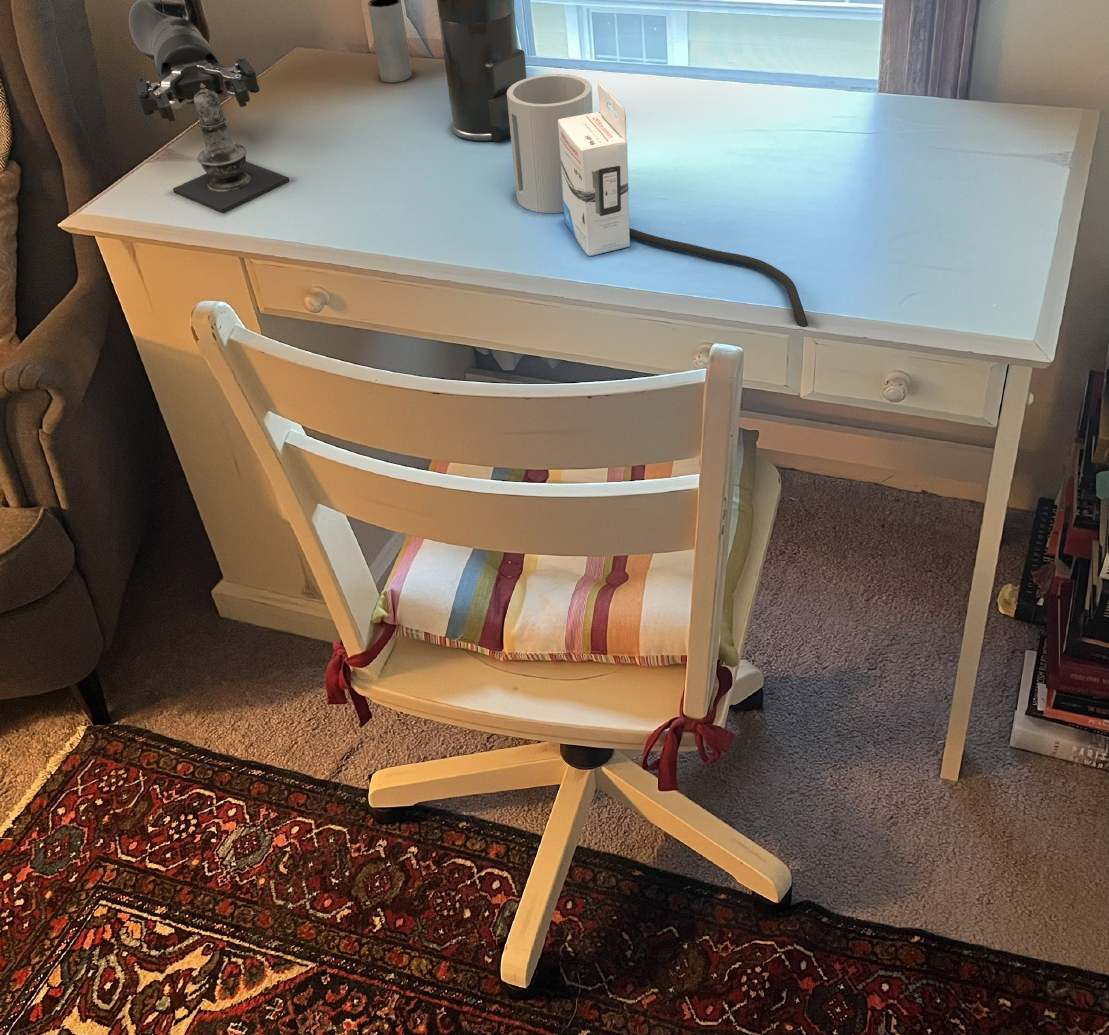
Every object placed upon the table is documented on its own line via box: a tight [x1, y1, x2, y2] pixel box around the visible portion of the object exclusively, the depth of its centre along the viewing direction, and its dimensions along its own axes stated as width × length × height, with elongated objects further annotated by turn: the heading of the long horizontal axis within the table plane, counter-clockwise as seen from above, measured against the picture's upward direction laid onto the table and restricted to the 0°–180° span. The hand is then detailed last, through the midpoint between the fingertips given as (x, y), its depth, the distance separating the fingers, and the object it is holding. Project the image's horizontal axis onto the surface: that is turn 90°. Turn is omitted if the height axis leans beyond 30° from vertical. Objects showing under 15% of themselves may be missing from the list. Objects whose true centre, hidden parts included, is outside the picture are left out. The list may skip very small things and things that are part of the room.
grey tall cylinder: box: [367, 0, 413, 83], centre depth 153 cm, size 4×4×10 cm
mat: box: [172, 161, 290, 214], centre depth 132 cm, size 10×10×1 cm
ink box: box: [558, 82, 631, 257], centre depth 112 cm, size 8×5×15 cm, turn 18°
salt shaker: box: [194, 83, 252, 192], centre depth 128 cm, size 6×6×12 cm
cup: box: [507, 73, 594, 214], centre depth 121 cm, size 9×9×12 cm
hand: (206, 106), depth 130 cm, fingers open, 8 cm apart
